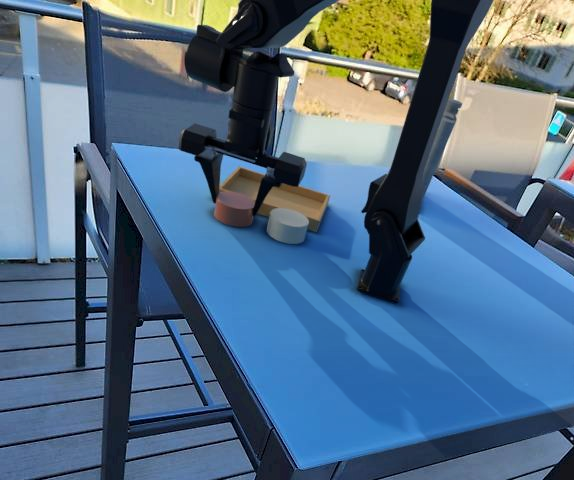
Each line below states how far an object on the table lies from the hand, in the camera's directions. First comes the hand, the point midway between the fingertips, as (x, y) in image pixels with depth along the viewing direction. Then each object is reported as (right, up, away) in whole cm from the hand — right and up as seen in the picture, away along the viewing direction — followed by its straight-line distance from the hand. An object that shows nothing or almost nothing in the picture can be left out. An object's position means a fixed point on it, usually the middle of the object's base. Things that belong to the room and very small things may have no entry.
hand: (235, 208), depth 79 cm
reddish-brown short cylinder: (0, -1, +1) cm, 2 cm away
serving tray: (+6, +4, +9) cm, 12 cm away
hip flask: (+36, +12, +29) cm, 48 cm away
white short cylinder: (+8, -4, +1) cm, 9 cm away
